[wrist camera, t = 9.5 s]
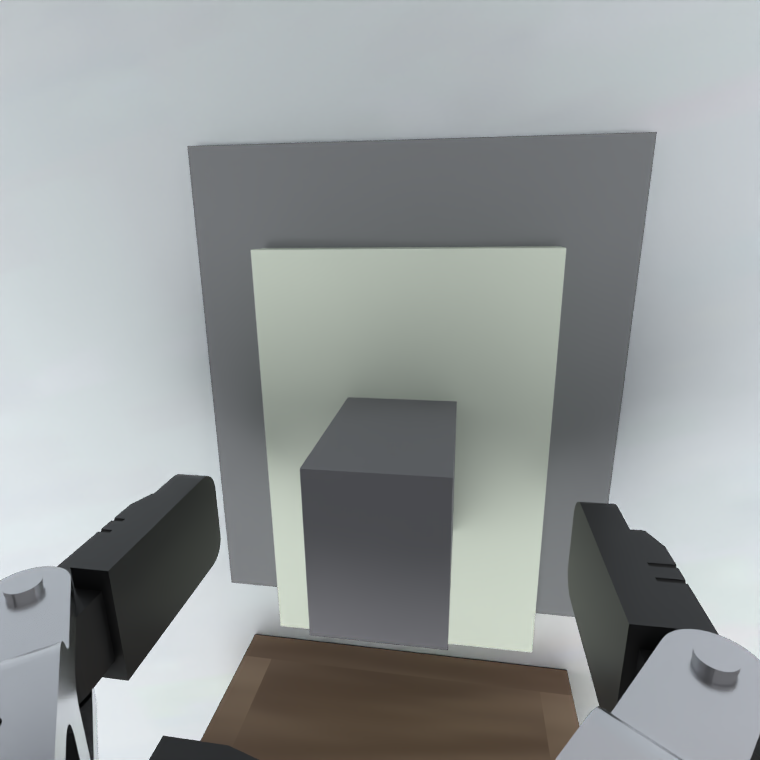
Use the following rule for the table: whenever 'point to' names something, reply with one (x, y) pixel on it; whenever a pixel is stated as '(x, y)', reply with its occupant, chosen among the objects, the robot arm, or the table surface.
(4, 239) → the table surface
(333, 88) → the table surface
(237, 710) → the box
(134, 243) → the table surface
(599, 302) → the mat
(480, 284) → the lid
